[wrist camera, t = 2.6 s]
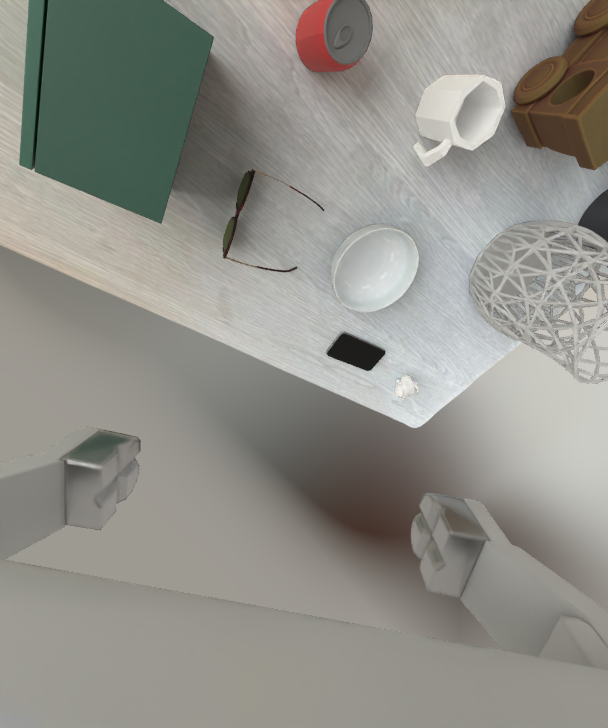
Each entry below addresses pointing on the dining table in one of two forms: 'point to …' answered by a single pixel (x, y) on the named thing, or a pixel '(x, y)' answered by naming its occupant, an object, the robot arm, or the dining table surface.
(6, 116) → the dining table surface
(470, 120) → the mug
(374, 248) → the cereal bowl
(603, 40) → the wooden toy train
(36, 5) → the door
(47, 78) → the cupboard
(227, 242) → the sunglasses
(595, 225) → the light fixture
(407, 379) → the elephant figurine
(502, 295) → the vase
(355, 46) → the beer can
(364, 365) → the smartphone
